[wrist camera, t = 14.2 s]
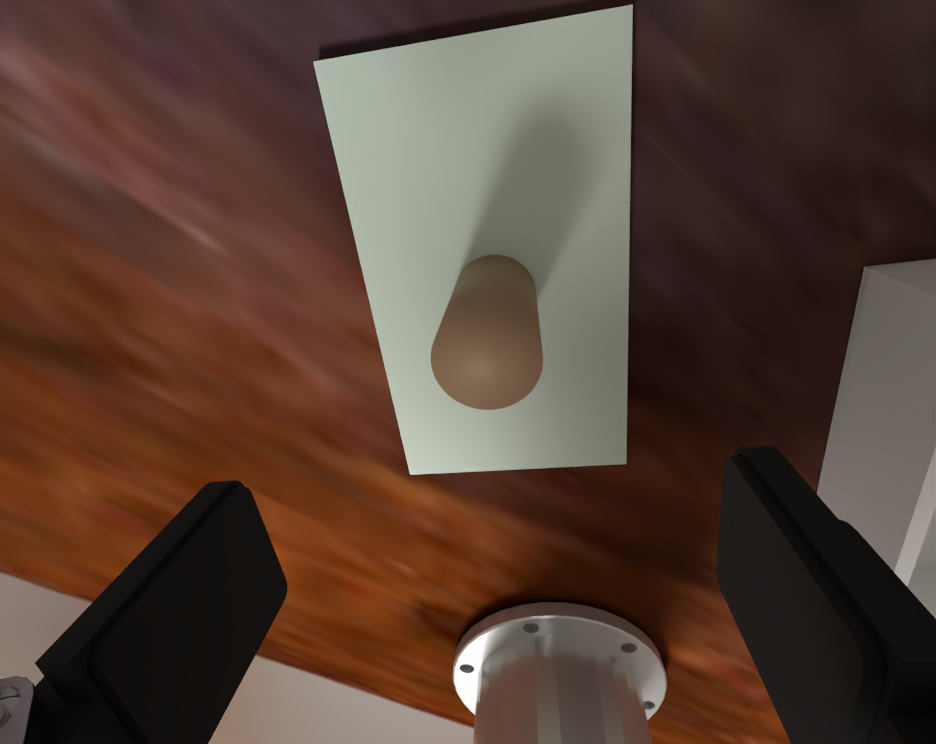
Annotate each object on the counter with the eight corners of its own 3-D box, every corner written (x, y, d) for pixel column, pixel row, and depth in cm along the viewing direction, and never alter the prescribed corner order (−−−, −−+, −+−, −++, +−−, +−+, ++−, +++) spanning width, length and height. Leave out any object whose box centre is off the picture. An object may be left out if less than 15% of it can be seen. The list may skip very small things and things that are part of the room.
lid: (622, 451, 23) (660, 571, 17) (413, 462, 24) (379, 576, 18) (626, 11, 15) (698, -64, 9) (323, 64, 17) (211, 30, 11)
